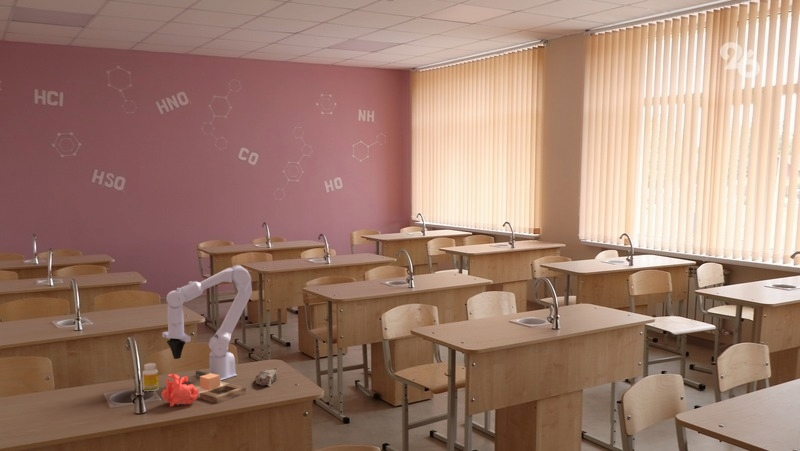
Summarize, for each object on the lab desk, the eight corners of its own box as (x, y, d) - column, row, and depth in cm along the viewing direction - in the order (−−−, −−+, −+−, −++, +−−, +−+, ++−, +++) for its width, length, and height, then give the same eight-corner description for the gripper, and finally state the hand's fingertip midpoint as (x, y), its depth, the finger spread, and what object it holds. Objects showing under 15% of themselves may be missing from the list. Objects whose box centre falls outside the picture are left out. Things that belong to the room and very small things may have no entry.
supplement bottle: (141, 389, 250) (140, 364, 249) (155, 386, 253) (154, 361, 252) (146, 393, 246) (145, 367, 245) (161, 390, 249) (160, 364, 248)
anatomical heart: (199, 409, 233) (199, 379, 229) (162, 414, 229) (161, 384, 225) (197, 395, 241) (196, 366, 237) (161, 399, 237) (160, 370, 233)
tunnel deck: (196, 379, 261) (195, 368, 260) (246, 393, 244) (245, 380, 244) (167, 389, 250) (166, 377, 250) (217, 403, 234) (216, 390, 234)
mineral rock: (262, 376, 265) (261, 365, 265) (281, 376, 264) (281, 365, 264) (248, 388, 251) (248, 376, 250) (269, 388, 250) (269, 377, 249)
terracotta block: (211, 383, 249) (211, 373, 249) (220, 386, 246) (219, 375, 246) (200, 387, 245) (199, 376, 245) (209, 389, 242) (208, 378, 242)
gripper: (154, 322, 257) (156, 357, 258) (178, 327, 248) (180, 363, 249) (170, 319, 262) (172, 353, 264) (194, 323, 254) (196, 359, 255)
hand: (177, 358), depth 257 cm, fingers closed
